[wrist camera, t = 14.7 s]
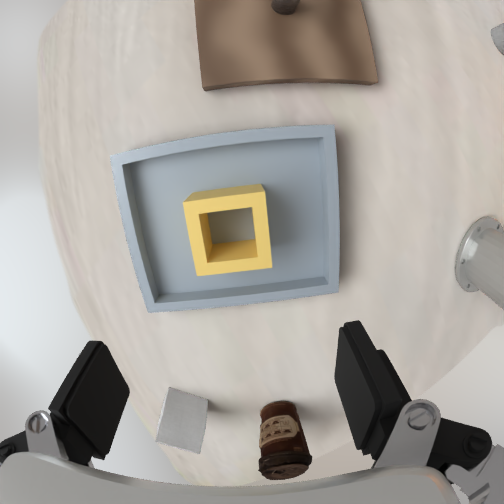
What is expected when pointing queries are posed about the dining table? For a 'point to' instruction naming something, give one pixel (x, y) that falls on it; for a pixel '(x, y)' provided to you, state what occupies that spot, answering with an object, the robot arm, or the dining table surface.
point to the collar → (230, 253)
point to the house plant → (498, 37)
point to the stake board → (283, 43)
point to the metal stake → (285, 6)
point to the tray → (233, 214)
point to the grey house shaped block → (182, 421)
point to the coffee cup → (282, 442)
